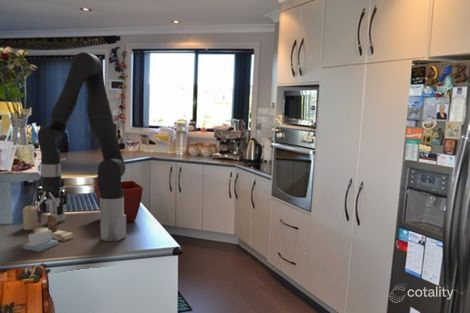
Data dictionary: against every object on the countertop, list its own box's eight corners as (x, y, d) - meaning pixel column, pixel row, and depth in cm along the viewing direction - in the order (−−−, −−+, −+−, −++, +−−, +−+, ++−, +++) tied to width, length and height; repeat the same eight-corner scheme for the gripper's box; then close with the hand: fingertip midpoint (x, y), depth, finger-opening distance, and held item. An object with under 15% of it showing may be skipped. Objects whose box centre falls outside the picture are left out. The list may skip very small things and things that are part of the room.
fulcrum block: (58, 244, 154) (57, 230, 153) (38, 251, 146) (38, 237, 145) (42, 241, 157) (42, 227, 156) (23, 248, 148) (22, 234, 148)
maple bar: (72, 238, 161) (72, 217, 160) (64, 241, 158) (64, 219, 157) (41, 232, 169) (40, 211, 168) (33, 234, 165) (32, 213, 164)
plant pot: (101, 227, 177) (100, 190, 175) (94, 216, 194) (93, 183, 192) (143, 222, 186) (143, 187, 184) (133, 213, 203) (133, 180, 201)
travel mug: (60, 218, 189) (59, 177, 187) (67, 221, 185) (66, 179, 183) (47, 221, 184) (46, 179, 182) (54, 224, 180) (53, 180, 178)
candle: (36, 229, 171) (35, 207, 170) (22, 230, 170) (21, 207, 169) (38, 226, 177) (38, 204, 175) (25, 226, 175) (24, 204, 174)
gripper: (71, 175, 161) (71, 213, 163) (45, 171, 166) (45, 209, 168) (57, 177, 154) (57, 218, 156) (30, 174, 159) (31, 213, 161)
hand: (51, 213), depth 162 cm, fingers open, 8 cm apart
